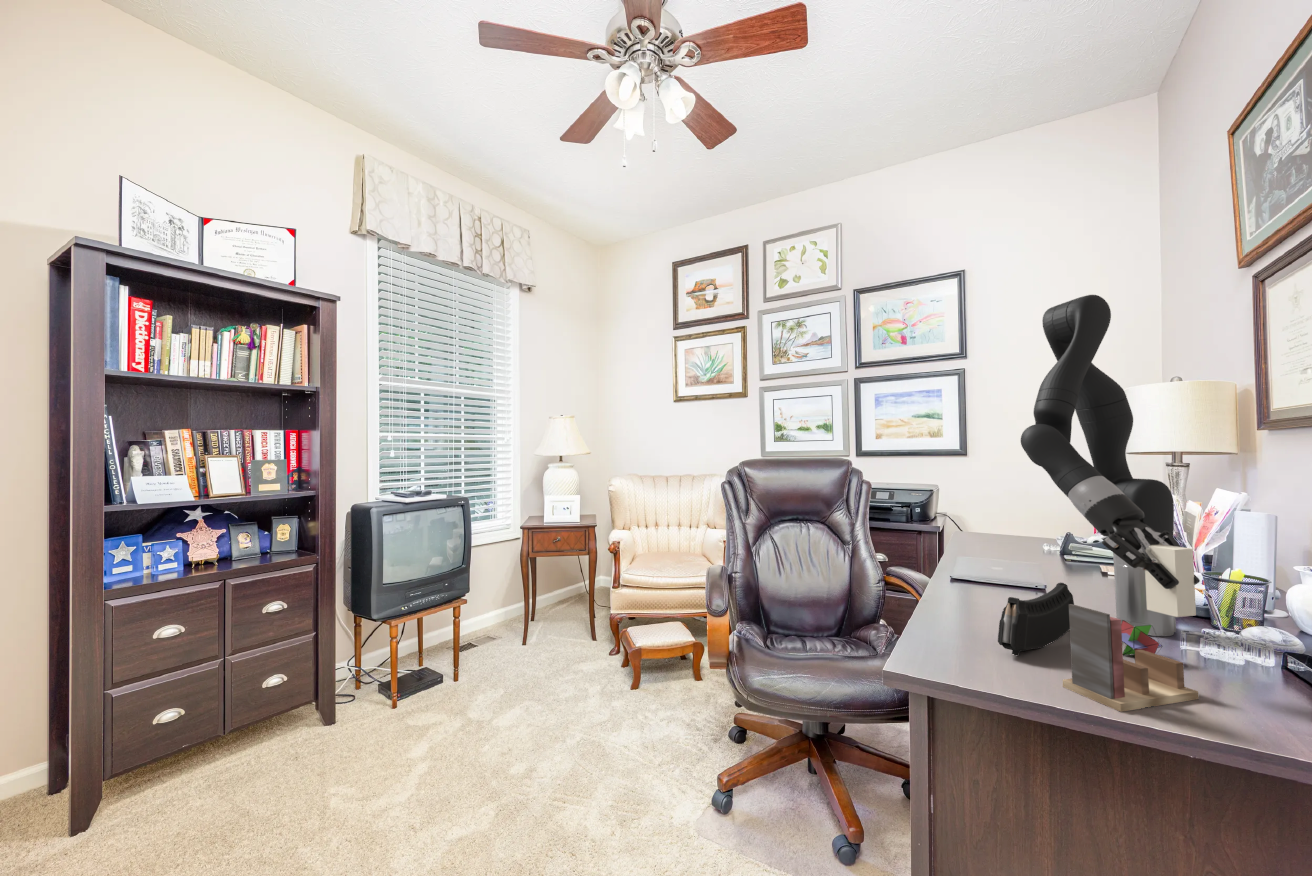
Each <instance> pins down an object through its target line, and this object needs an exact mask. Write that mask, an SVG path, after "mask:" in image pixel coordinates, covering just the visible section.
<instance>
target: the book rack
mask: <svg viewBox="0 0 1312 876" xmlns="http://www.w3.org/2000/svg"><path fill="white" fill-rule="evenodd" d="M1069 622H1070V629H1069V638H1070V640H1069V641H1070V658H1071V659H1070V662H1071V678H1066V679H1062V687H1063V688H1064V689H1066V690H1068V691H1071V692H1074V693H1075V694H1079V695H1080V696H1083V697H1085V698H1087V697H1088V698H1087V699H1089V700H1093V701H1094V702H1097V703H1099V704H1102V705H1103V706H1106V707H1109V708H1111V709H1113V710H1116V711H1118V712H1120V713H1122V712H1129V711H1134V710H1140V709H1141V708H1142V709H1146V708H1145V707H1148V708H1152V707H1151V706H1154V707H1158V706H1165V705H1170V704H1176V703H1181V702H1182V703H1183V702H1189V701H1196V700H1199V690H1195V689H1192V688H1189V687H1187V686H1185V672H1184V662H1183V661H1179V660H1176V659H1172V658H1169V657H1166V656H1164V655H1160V654H1158V653H1155V654H1154V653H1151V652H1148V651H1144V650H1135V654H1134V660H1135V662H1132V661H1129V660H1127V659H1124V656H1123V652H1124V651H1123V642H1122V630H1121V619H1117V617H1113V616H1111V614H1109V613H1105V612H1103V611H1098V610H1095V609H1092V608H1089V607H1085V606H1080V605H1076V604H1074V605H1073V604H1069Z"/></svg>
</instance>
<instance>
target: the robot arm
mask: <svg viewBox="0 0 1312 876" xmlns="http://www.w3.org/2000/svg"><path fill="white" fill-rule="evenodd" d="M1111 312H1112V311H1111V308H1110V305H1109V303H1108V302H1107V301H1106V300H1105V298H1103V297H1102V296H1099V295H1096V294H1088V295H1087V294H1086V295H1083V296H1080V297H1077V298H1074V299H1071V300H1068V301H1065V302H1063V303H1062V302H1061V303H1060V304H1057V305H1054V306H1051V307H1050V308H1048V309H1047V310H1046V311H1045V312H1044V313H1043V316H1042V329H1043V333H1044V336H1045V337H1046V338H1045V339H1046V340H1047V342H1048V345H1049V347H1050V348H1051V350H1052V353H1053V355H1054V357H1055V359H1056V361H1057V362H1055V364H1054V365H1053V367H1051V369H1050V370H1049V371H1048V373H1047V374H1045V375H1046V376H1045V377H1044V379H1043V380H1042V381H1041V383H1040V385H1039V389H1038V392H1037V395H1036V399H1035V403H1034V407H1033V417H1034V422H1035V423H1034V424H1033V425H1029V426H1028V427H1026V428H1025V429H1024V430H1023V431H1022V434H1020V435H1021V436H1020V446H1021V447H1022V450H1024V452H1025V454H1026V455H1027V456H1028V458H1029V460H1031V462H1032V463H1033V464H1035V465H1037V466H1038V467H1041V468H1042V469H1043V470H1044V471H1045V472H1046V473H1047V474H1048V476H1049V477H1050V478H1051V480H1052V481H1053V483H1054V485H1056V487H1057V488H1058V489H1059V490H1060V491H1061V492H1062V493H1063V494H1064V496H1066V497H1067V499H1069V500H1070V502H1071V503H1072V505H1073V506H1074V508H1075V509H1076V510H1077V511H1078V512H1079V513H1080V514H1081V515H1082V516H1083V517H1084V518H1085V520H1087V522H1088V523H1090V525H1091V526H1092V527H1093V528H1095V529H1094V530H1096V531H1097V532H1098V533H1099V534H1100V535H1102V536H1104V537H1105V538H1104V539H1103V540H1102V541H1101V544H1102V545H1103V546H1105V548H1107V549H1108V550H1109V551H1111V552H1112V556H1113V557H1112V558H1113V572H1114V573H1113V575H1114V594H1115V610H1116V611H1115V615H1116V617H1115V618H1117V619H1121V622H1122V621H1123V620H1124V621H1126V620H1127V622H1129V623H1131V624H1132V625H1133V626H1144V625H1149V624H1150V625H1151V624H1152V626H1153V627H1152V626H1151V628H1150V630H1149V633H1148V636H1153V637H1156V636H1157V637H1170V636H1173V635H1174V634H1175V633H1176V632H1177V623H1176V622H1177V619H1176V617H1175V616H1171V615H1167V614H1163V613H1159V612H1155V611H1151V610H1147V601H1146V579H1145V571H1148V572H1149V573H1150V574H1151V575H1152V576H1153V577H1154V578H1155V579H1156V580H1157V581H1158V582H1159V583H1160V584H1161V585H1162V586H1163V587H1164V588H1165V589H1172V588H1173V587H1175V586H1176V585H1178V584H1179V581H1178V580H1177V579H1176V578H1175V577H1174V576H1173V575H1172V574H1171V573H1170V572H1169V571H1168V570H1167V569H1166V568H1165V567H1164V566H1163V565H1162V564H1161V563H1160V564H1157V563H1158V562H1159V561H1158V560H1157V558H1156V557H1155V556H1154V555H1153V554H1152V553H1151V548H1150V547H1149V546H1150V545H1170V546H1177V547H1182V546H1181V545H1180V544H1179V542H1178V541H1177V540H1176V538H1175V537H1174V533H1175V532H1174V529H1175V528H1174V524H1175V523H1174V522H1175V521H1174V519H1175V516H1174V515H1175V505H1174V504H1175V503H1174V497H1173V493H1172V491H1171V490H1170V488H1169V486H1168V485H1167V484H1166V483H1164V482H1162V481H1160V480H1158V479H1151V478H1150V479H1149V478H1133V476H1132V474H1131V471H1130V469H1129V464H1128V462H1127V454H1126V453H1127V452H1126V451H1127V446H1128V443H1129V440H1130V437H1131V433H1132V430H1133V426H1134V415H1133V411H1132V409H1131V406H1130V403H1129V400H1128V397H1127V394H1126V392H1125V390H1124V389H1123V387H1122V386H1121V385H1120V384H1119V383H1117V381H1115V380H1114V379H1113V378H1111V377H1110V376H1109V375H1107V374H1106V373H1105V372H1103V370H1101V369H1099V367H1097V366H1096V365H1095V364H1094V363H1093V360H1094V359H1095V356H1096V354H1097V353H1098V351H1099V348H1100V345H1101V344H1102V342H1103V340H1104V337H1105V335H1106V334H1107V331H1108V330H1109V327H1110V324H1111V320H1112V319H1111V318H1112V313H1111ZM1075 413H1076V416H1077V420H1078V421H1079V425H1080V427H1081V430H1082V433H1083V435H1084V439H1085V442H1086V446H1087V447H1088V450H1089V451H1088V452H1089V455H1090V458H1091V461H1092V464H1091V463H1090V462H1088V461H1087V460H1086V459H1085V458H1084V457H1083V456H1082V455H1081V454H1080V453H1079V452H1078V451H1077V450H1076V448H1075V447H1074V446H1073V445H1072V443H1071V438H1072V423H1073V416H1074V414H1075ZM1200 582H1201V581H1200V578H1199V577H1198V576H1196V574H1195V573H1194V584H1195V586H1196V585H1197V584H1199V583H1200ZM1137 622H1138V623H1137ZM1143 623H1144V624H1143ZM1154 631H1155V632H1154Z"/></svg>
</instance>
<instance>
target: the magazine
mask: <svg viewBox="0 0 1312 876" xmlns="http://www.w3.org/2000/svg"><path fill="white" fill-rule="evenodd" d="M1069 604H1073V605H1075V602H1074V595H1073V594H1072V592H1071V590H1069V587H1068V585H1067V584H1066V583H1064V582H1058V583H1057V584H1056V585H1055V586H1054V587H1053V588H1052V589H1051V590H1050V591H1048V592H1046V593H1043V594H1042V595H1040V596H1038V597H1035V598H1031V599H1024V600H1023V599H1020V598H1018V597H1012V596H1009V597H1008V598H1007V603H1006V606H1005V607H1004V608H1003V609H1002V611H1001V617H1000V619H999V622H998V623H999V624H998V634H997V635H998V636H997V643H998V644H999V645H1000V646H1002V647H1003V648H1004V649H1005V650H1010V651H1011V655H1012V654H1014V655H1013V656H1016V655H1020V652H1025V651H1030V650H1035V649H1040V648H1043V647H1046V646H1048V645H1050V644H1052V643H1054V642H1056V641H1057V640H1059V639H1060V638H1061V637H1062V636H1064V635H1066V633H1067V632H1069V631H1070V622H1069ZM1055 640H1056V641H1055ZM1053 641H1054V642H1053ZM1051 642H1052V643H1051ZM1049 643H1050V644H1049ZM1047 644H1048V645H1047ZM1045 645H1046V646H1045Z"/></svg>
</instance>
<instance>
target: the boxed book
mask: <svg viewBox="0 0 1312 876" xmlns="http://www.w3.org/2000/svg"><path fill="white" fill-rule="evenodd" d="M1149 547H1150V548H1151V553H1152V554H1153V555H1154V556H1155V557H1156V558H1157V560H1158V561H1159V562H1158V563H1157V564H1160V563H1161V564H1162V565H1163V566H1164V567H1165V568H1166V569H1167V570H1168V571H1169V572H1170V573H1171V574H1172V575H1173V576H1174V577H1175V578H1176V579H1177V580H1178V581H1179V584H1178V585H1176V586H1175V587H1173V588H1172V589H1165V588H1164V587H1163V586H1162V585H1161V584H1160V583H1159V582H1158V581H1157V580H1156V579H1155V578H1154V577H1153V576H1152V575H1151V574H1150V573H1149V572H1148V571H1145V579H1146V601H1147V610H1151V611H1155V612H1159V613H1163V614H1167V615H1171V616H1175V618H1183V617H1193V616H1197V609H1196V588H1195V587H1196V585H1195V584H1194V574H1195V568H1194V567H1195V566H1194V548H1190V547H1183V546H1181V547H1177V546H1170V545H1150V546H1149Z"/></svg>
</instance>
